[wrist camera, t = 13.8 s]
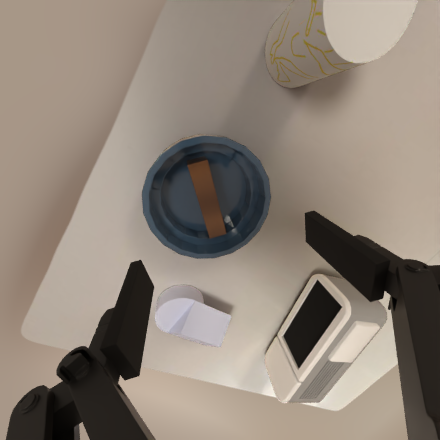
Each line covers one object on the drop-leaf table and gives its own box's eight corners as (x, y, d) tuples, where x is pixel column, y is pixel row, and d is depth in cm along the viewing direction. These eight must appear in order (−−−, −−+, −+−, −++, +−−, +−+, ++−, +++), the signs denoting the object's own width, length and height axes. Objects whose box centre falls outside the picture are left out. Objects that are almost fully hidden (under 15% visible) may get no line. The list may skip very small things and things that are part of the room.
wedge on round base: (228, 302, 42) (173, 277, 38) (235, 331, 36) (171, 306, 32) (203, 330, 45) (148, 310, 40) (206, 362, 39) (142, 343, 34)
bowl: (131, 151, 28) (118, 156, 23) (246, 121, 29) (261, 120, 24) (170, 249, 35) (168, 271, 30) (262, 223, 36) (276, 240, 31)
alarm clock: (312, 265, 42) (356, 311, 32) (346, 272, 45) (398, 317, 34) (260, 353, 51) (281, 413, 41) (291, 355, 54) (318, 411, 43)
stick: (186, 160, 29) (187, 165, 25) (204, 155, 29) (207, 159, 26) (206, 227, 34) (209, 239, 30) (222, 222, 34) (226, 234, 30)
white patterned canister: (252, 43, 26) (304, -18, 15) (305, -10, 24) (405, -120, 14) (286, 101, 29) (348, 86, 18) (334, 57, 28) (431, 12, 17)
